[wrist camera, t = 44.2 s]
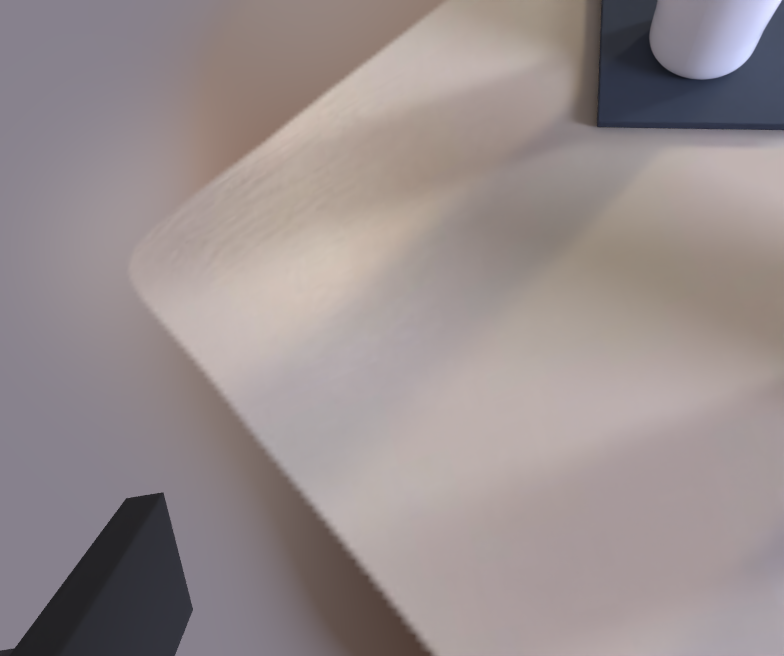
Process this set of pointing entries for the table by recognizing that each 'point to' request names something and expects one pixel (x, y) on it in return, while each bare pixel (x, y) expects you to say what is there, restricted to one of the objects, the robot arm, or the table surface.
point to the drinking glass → (707, 34)
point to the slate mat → (683, 79)
